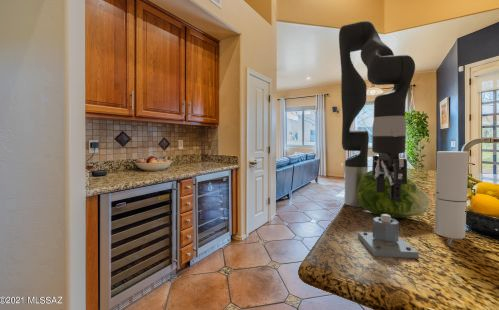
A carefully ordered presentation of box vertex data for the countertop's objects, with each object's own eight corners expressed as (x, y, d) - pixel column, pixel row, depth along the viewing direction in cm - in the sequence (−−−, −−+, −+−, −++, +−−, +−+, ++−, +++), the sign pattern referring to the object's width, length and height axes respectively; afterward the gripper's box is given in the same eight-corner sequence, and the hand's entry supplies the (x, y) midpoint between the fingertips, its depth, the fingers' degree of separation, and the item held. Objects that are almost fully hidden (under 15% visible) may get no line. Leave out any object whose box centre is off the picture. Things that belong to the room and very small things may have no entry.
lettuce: (426, 231, 76) (438, 178, 76) (349, 208, 89) (359, 163, 89) (422, 226, 90) (432, 181, 90) (356, 207, 103) (365, 168, 103)
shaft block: (358, 237, 71) (358, 208, 70) (394, 238, 69) (394, 209, 69) (374, 256, 59) (375, 222, 58) (418, 258, 58) (419, 223, 57)
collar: (370, 234, 67) (370, 216, 67) (391, 235, 67) (391, 217, 66) (378, 242, 62) (378, 223, 61) (401, 243, 61) (402, 224, 61)
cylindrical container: (456, 231, 75) (459, 151, 73) (471, 240, 68) (474, 152, 67) (430, 228, 77) (432, 151, 75) (441, 237, 70) (444, 152, 69)
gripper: (363, 135, 70) (362, 190, 71) (385, 134, 56) (384, 202, 57) (390, 134, 69) (389, 190, 70) (420, 133, 55) (418, 203, 56)
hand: (387, 195), depth 63 cm, fingers open, 8 cm apart
